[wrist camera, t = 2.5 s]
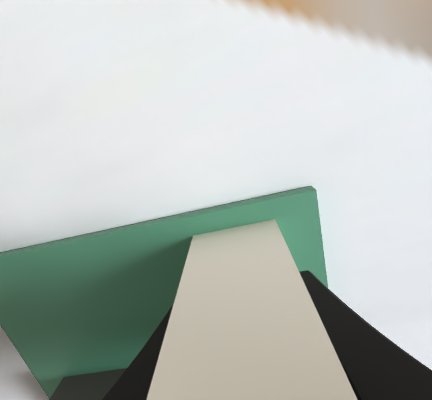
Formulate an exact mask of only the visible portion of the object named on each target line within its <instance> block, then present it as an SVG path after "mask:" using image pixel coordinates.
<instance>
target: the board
mask: <svg viewBox="0 0 432 400" xmlns="http://www.w3.org/2000/svg"><path fill="white" fill-rule="evenodd" d="M273 219H275V220H276V222H277V225H278V227H279V229H280V231H281V233H282V236H283V238H284V240H285V242H286V244H287V246H288V249H289V251H290V253H291V255H292V257H293V260H294V262H295V264H296V266H297V268H298V271H299V272H300V271H306V270H309V271H310V272H312V273H313V274H314V275H315V276H316V277H317V278H318V279H319V280H320V281H321V282H322V283H323V284H324V285H325V286H326V287H327V288H328V284H327V275H326V267H325V259H324V251H323V243H322V234H321V226H320V218H319V210H318V201H317V193H316V189H314V188H313V187H312V186H308V187H304V188H299V189H294V190H290V191H285V192H280V193H276V194H271V195H267V196H262V197H257V198H253V199H248V200H243V201H239V202H234V203H229V204H225V205H220V206H215V207H211V208H206V209H201V210H197V211H192V212H187V213H183V214H178V215H174V216H169V217H164V218H160V219H155V220H150V221H146V222H141V223H136V224H132V225H127V226H122V227H118V228H113V229H108V230H104V231H99V232H95V233H90V234H85V235H81V236H76V237H71V238H67V239H62V240H57V241H53V242H48V243H43V244H39V245H34V246H29V247H25V248H20V249H15V250H11V251H6V252H2V253H0V325H1V326H2V328H3V329H4V331H5V332H6V334H7V336H8V337H9V339H10V340H11V342H12V343H13V345H14V346H15V348H16V349H17V351H18V352H19V354H20V355H21V357H22V358H23V360H24V361H25V363H26V364H27V366H28V367H29V369H30V370H31V372H32V373H33V375H34V376H35V378H36V379H37V381H38V382H39V384H40V385H41V387H42V388H43V390H44V391H45V393H46V394H47V396H48V397H49V400H102V399H103V398H104V397H105V395H106V394H107V393H108V392H109V391H110V389H111V388H112V387H113V386H114V384H115V383H116V382H117V381H118V379H119V378H120V377H121V376H122V374H123V373H124V372H125V370H126V369H127V368H128V366H129V365H130V364H131V363H132V361H133V360H134V359H135V357H136V356H137V355H138V353H139V352H140V351H141V349H142V348H143V347H144V345H145V344H146V342H147V341H148V340H149V338H150V337H151V335H152V334H153V333H154V331H155V330H156V328H157V327H158V325H159V324H160V322H161V321H162V320H163V318H164V317H165V315H166V314H167V312H168V311H169V309H170V308H171V306H172V305H173V303H174V301H175V297H176V294H177V290H178V287H179V283H180V280H181V276H182V273H183V269H184V266H185V262H186V259H187V255H188V252H189V248H190V245H191V241H192V238H193V236H194V235H199V234H204V233H209V232H214V231H219V230H224V229H229V228H234V227H239V226H244V225H249V224H254V223H258V222H263V221H268V220H273Z"/></svg>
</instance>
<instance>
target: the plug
mask: <svg viewBox="0 0 432 400" xmlns="http://www.w3.org/2000/svg"><path fill="white" fill-rule="evenodd" d="M147 400H357V398H356V395H355V393H354V391H353V389H352V387H351V384H350V382H349V380H348V378H347V376H346V373H345V371H344V369H343V367H342V365H341V362H340V360H339V358H338V356H337V354H336V352H335V349H334V347H333V345H332V343H331V341H330V338H329V336H328V334H327V332H326V330H325V327H324V325H323V323H322V321H321V319H320V317H319V314H318V312H317V310H316V308H315V306H314V303H313V301H312V299H311V297H310V295H309V292H308V290H307V288H306V286H305V284H304V281H303V279H302V277H301V275H300V273H299V271H298V268H297V266H296V264H295V262H294V260H293V257H292V255H291V253H290V251H289V249H288V246H287V244H286V242H285V240H284V238H283V236H282V233H281V231H280V229H279V227H278V225H277V222H276V220H275V219H273V220H268V221H263V222H258V223H254V224H249V225H244V226H239V227H234V228H229V229H224V230H219V231H214V232H209V233H204V234H199V235H194V236H193V238H192V241H191V245H190V248H189V252H188V255H187V259H186V262H185V266H184V269H183V273H182V276H181V280H180V283H179V287H178V290H177V294H176V297H175V301H174V305H173V308H172V312H171V315H170V319H169V322H168V326H167V329H166V333H165V336H164V340H163V343H162V347H161V350H160V354H159V357H158V361H157V364H156V368H155V371H154V375H153V378H152V382H151V385H150V389H149V393H148V396H147Z"/></svg>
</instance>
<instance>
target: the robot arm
mask: <svg viewBox="0 0 432 400" xmlns="http://www.w3.org/2000/svg"><path fill="white" fill-rule="evenodd" d="M299 273H300V275H301V277H302V279H303V281H304V284H305V286H306V288H307V290H308V292H309V295H310V297H311V299H312V301H313V303H314V306H315V308H316V310H317V312H318V314H319V317H320V319H321V321H322V323H323V325H324V327H325V330H326V332H327V334H328V336H329V338H330V341H331V343H332V345H333V347H334V349H335V352H336V354H337V356H338V358H339V360H340V362H341V365H342V367H343V369H344V371H345V373H346V376H347V378H348V380H349V382H350V384H351V387H352V389H353V391H354V393H355V395H356V398H357V400H432V370H430V369H429V368H428V367H426V366H425V365H423V364H422V363H420V362H419V361H418V360H416V359H415V358H413V357H412V356H411V355H409V354H408V353H407V352H405V351H404V350H402V349H401V348H400V347H398V346H397V345H396V344H394V343H393V342H392V341H391V340H389V339H388V338H387V337H385V336H384V335H383V334H381V333H380V332H379V331H377V330H376V329H375V328H374V327H372V326H371V325H370V324H369V323H367V322H366V321H365V320H364V319H363V318H361V317H360V316H359V315H358V314H357V313H355V312H354V311H353V310H352V309H351V308H349V307H348V306H347V305H346V304H345V303H344V302H342V301H341V300H340V299H339V298H338V297H337V296H336V295H335V294H334V293H332V292H331V291H330V290H329V289H328V288H327V287H326V286H325V285H324V284H323V283H322V282H321V281H320V280H319V279H318V278H317V277H316V276H315V275H314V274H313V273H312V272H310V271H309V270H306V271H300V272H299ZM173 305H174V303H173ZM173 305H172V306H171V308H170V309H169V311H168V312H167V314H166V315H165V317H164V318H163V320H162V321H161V322H160V324H159V325H158V327H157V328H156V330H155V331H154V333H153V334H152V335H151V337H150V338H149V340H148V341H147V342H146V344H145V345H144V347H143V348H142V349H141V351H140V352H139V353H138V355H137V356H136V357H135V359H134V360H133V361H132V363H131V364H130V365H129V366H128V368H127V369H126V370H125V372H124V373H123V374H122V376H121V377H120V378H119V379H118V381H117V382H116V383H115V384H114V386H113V387H112V388H111V389H110V391H109V392H108V393H107V394H106V395H105V397H104V398H103V399H102V400H147V396H148V393H149V389H150V385H151V382H152V378H153V375H154V371H155V368H156V364H157V361H158V357H159V354H160V350H161V347H162V343H163V340H164V336H165V333H166V329H167V326H168V322H169V319H170V315H171V312H172V308H173Z"/></svg>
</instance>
